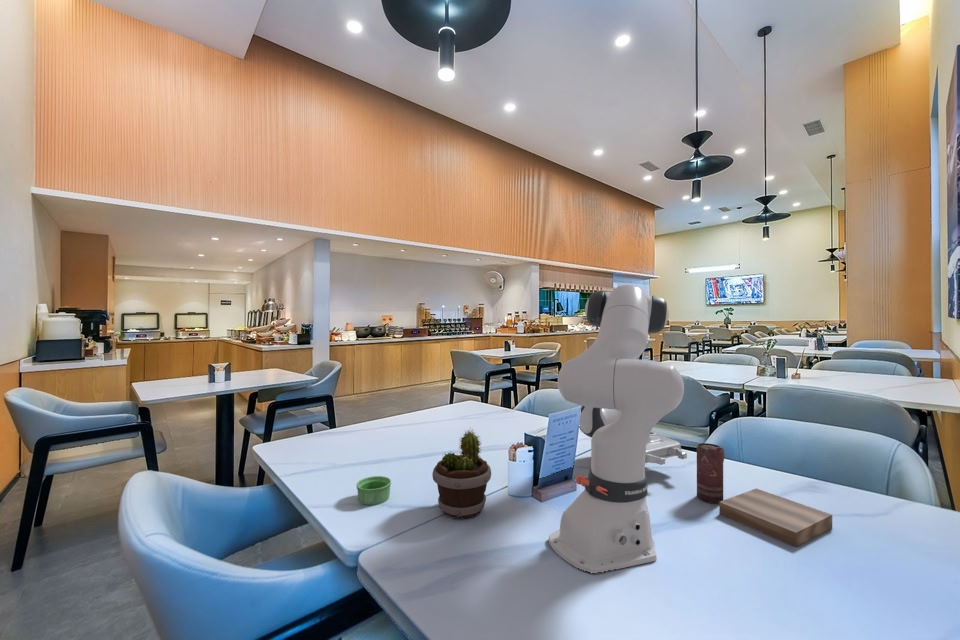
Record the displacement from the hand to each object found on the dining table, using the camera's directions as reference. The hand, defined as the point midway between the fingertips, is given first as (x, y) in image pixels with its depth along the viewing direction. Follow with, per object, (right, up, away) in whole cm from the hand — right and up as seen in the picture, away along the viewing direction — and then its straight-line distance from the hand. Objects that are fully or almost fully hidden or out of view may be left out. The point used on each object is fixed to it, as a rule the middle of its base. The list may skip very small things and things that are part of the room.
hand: (674, 458), depth 115 cm
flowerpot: (-60, -8, -14) cm, 62 cm away
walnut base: (+13, -7, -21) cm, 26 cm away
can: (+5, -8, -9) cm, 13 cm away
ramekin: (-84, -8, -8) cm, 85 cm away
